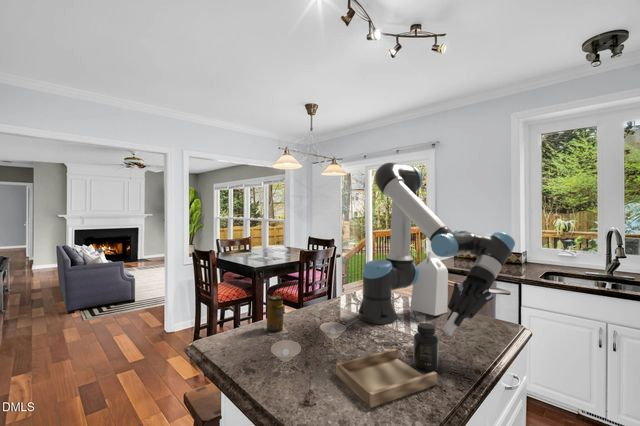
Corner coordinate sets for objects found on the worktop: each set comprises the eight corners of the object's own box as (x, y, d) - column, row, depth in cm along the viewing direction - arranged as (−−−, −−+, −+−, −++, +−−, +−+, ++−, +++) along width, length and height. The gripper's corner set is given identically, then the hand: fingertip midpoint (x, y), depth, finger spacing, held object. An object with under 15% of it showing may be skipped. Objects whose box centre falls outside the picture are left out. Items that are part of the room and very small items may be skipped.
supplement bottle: (443, 369, 90) (444, 327, 90) (427, 375, 86) (428, 332, 86) (423, 359, 96) (424, 319, 95) (408, 365, 92) (408, 324, 92)
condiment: (281, 324, 122) (281, 293, 122) (288, 332, 114) (288, 299, 114) (262, 327, 119) (262, 296, 119) (269, 336, 111) (269, 302, 111)
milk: (423, 306, 148) (426, 250, 149) (447, 312, 139) (451, 253, 141) (409, 309, 139) (414, 250, 140) (434, 315, 131) (439, 253, 132)
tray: (395, 358, 96) (395, 348, 96) (436, 384, 82) (437, 373, 82) (335, 374, 86) (335, 363, 86) (370, 408, 72) (371, 395, 72)
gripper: (508, 284, 98) (471, 348, 90) (471, 275, 109) (435, 331, 102) (498, 268, 95) (459, 333, 88) (461, 261, 107) (424, 318, 99)
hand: (447, 332), depth 95 cm, fingers closed
